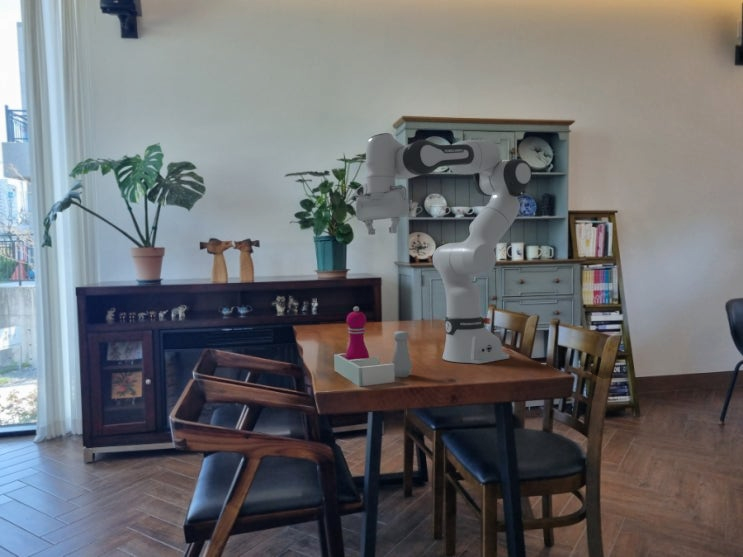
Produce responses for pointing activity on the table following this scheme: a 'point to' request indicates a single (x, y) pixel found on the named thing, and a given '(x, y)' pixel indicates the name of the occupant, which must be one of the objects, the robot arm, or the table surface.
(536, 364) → the table surface
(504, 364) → the table surface
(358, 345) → the pepper mill
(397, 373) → the salt shaker
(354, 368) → the condiment rack
